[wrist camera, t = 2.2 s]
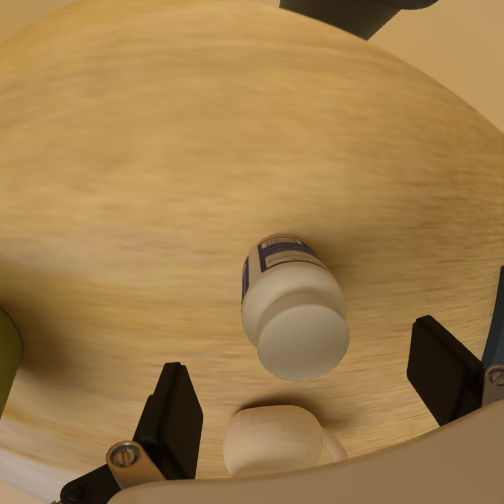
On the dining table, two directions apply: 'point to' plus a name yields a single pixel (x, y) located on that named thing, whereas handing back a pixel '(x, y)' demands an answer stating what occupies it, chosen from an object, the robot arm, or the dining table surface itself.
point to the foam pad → (496, 331)
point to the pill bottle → (293, 309)
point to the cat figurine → (276, 441)
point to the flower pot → (8, 357)
